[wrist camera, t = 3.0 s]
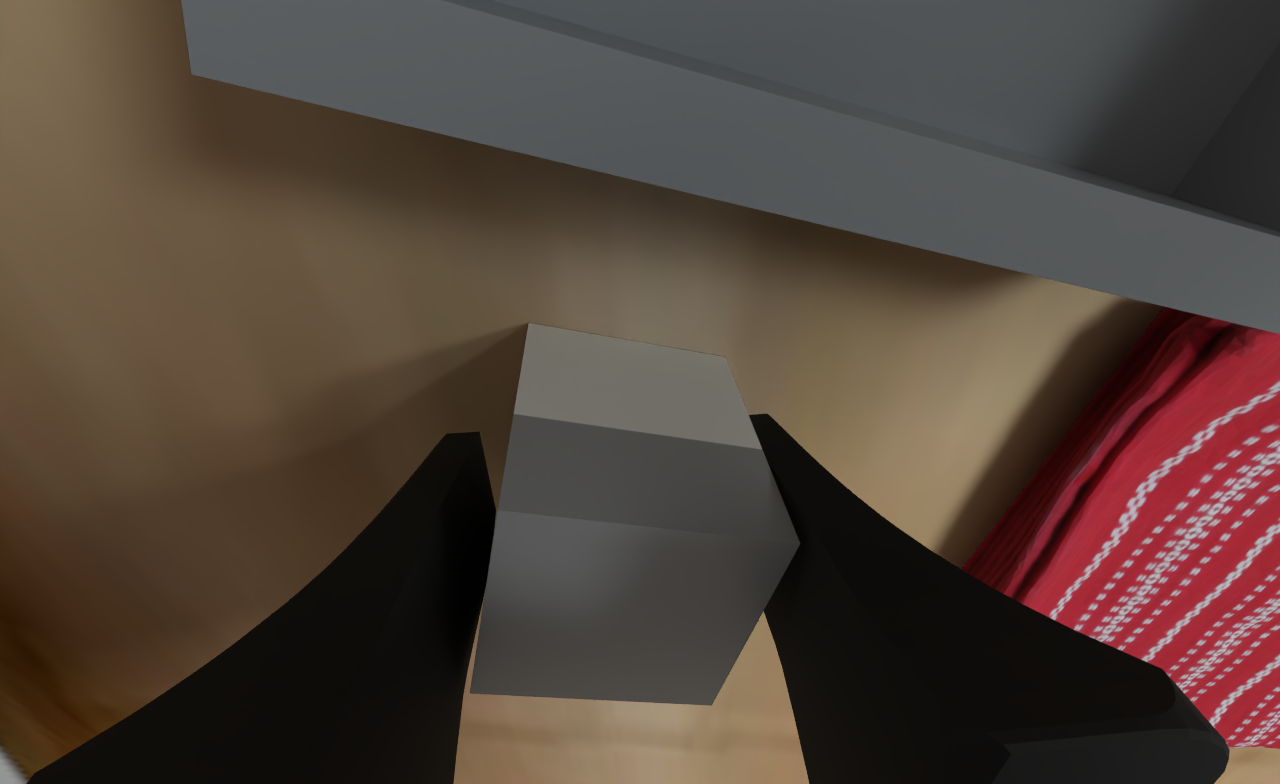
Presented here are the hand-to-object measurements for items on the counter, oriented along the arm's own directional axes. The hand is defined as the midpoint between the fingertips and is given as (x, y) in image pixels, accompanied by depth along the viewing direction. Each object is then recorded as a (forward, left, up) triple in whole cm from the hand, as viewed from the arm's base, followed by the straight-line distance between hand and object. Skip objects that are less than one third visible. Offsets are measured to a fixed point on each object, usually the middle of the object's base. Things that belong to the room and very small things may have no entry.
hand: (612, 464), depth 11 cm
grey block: (0, 0, -1) cm, 1 cm away
